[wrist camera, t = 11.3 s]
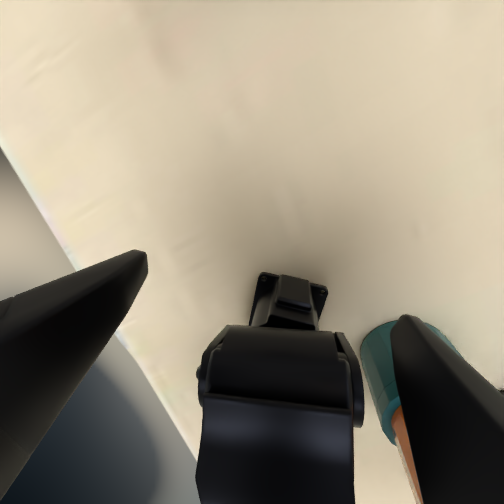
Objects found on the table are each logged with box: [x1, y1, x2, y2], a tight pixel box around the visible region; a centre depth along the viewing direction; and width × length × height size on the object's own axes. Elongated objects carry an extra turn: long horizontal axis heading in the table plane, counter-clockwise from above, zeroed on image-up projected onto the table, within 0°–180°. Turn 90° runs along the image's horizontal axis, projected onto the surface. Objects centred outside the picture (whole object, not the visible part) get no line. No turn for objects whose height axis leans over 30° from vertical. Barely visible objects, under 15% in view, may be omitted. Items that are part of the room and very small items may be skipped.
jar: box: [360, 320, 464, 446], centre depth 21 cm, size 8×8×7 cm
